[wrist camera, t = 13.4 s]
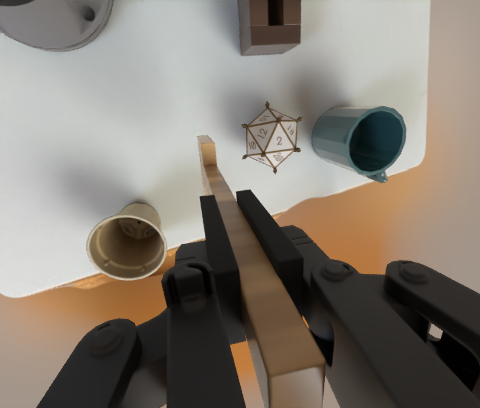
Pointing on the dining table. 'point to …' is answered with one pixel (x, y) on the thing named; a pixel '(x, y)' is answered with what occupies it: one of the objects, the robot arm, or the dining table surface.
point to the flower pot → (128, 243)
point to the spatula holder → (268, 26)
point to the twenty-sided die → (271, 137)
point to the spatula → (266, 307)
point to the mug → (360, 139)
